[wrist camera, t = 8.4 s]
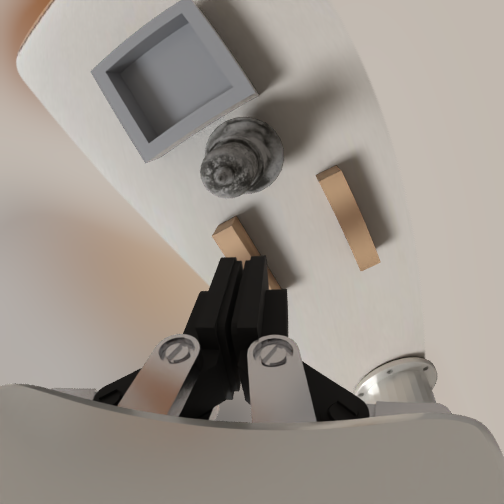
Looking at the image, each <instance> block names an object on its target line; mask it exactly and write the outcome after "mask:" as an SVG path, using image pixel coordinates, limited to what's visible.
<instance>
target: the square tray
mask: <svg viewBox="0 0 504 504" xmlns="http://www.w3.org/2000/svg"><path fill="white" fill-rule="evenodd" d="M91 73H92V75H93V77H94V78H95V80H96V82H97V84H98V85H99V87H100V89H101V91H102V92H103V94H104V96H105V97H106V99H107V101H108V103H109V104H110V106H111V108H112V109H113V111H114V113H115V114H116V116H117V118H118V119H119V121H120V123H121V124H122V126H123V128H124V129H125V131H126V133H127V134H128V136H129V138H130V139H131V141H132V142H133V144H134V146H135V147H136V149H137V150H138V152H139V154H140V155H141V157H142V159H143V160H144V162H145V163H148V162H150V161H153V160H155V159H158V158H160V157H162V156H163V155H164V154H166V153H167V152H169V151H170V150H172V149H173V148H174V147H176V146H177V145H179V144H180V143H182V142H183V141H185V140H186V139H188V138H189V137H191V136H192V135H194V134H195V133H197V132H198V131H200V130H202V129H203V128H205V127H206V126H208V125H209V124H211V123H213V122H214V121H216V120H218V119H219V118H221V117H222V116H224V115H226V114H227V113H229V112H231V111H233V110H234V109H236V108H238V107H239V106H241V105H243V104H245V103H246V102H248V101H250V100H252V99H254V98H255V97H257V96H259V94H258V93H257V91H256V89H255V88H254V86H253V85H252V83H251V82H250V80H249V79H248V77H247V75H246V74H245V72H244V71H243V69H242V68H241V66H240V65H239V63H238V62H237V60H236V59H235V57H234V56H233V54H232V53H231V51H230V50H229V49H228V47H227V46H226V44H225V43H224V41H223V40H222V39H221V37H220V36H219V34H218V33H217V32H216V30H215V29H214V27H213V26H212V25H211V23H210V22H209V21H208V19H207V18H206V16H205V15H204V14H203V12H202V11H201V10H200V9H199V7H198V6H197V5H196V4H195V3H194V2H193V1H192V0H181V1H179V2H177V3H176V4H174V5H173V6H171V7H170V8H168V9H167V10H165V11H164V12H162V13H161V14H159V15H158V16H157V17H155V18H154V19H152V20H151V21H150V22H148V23H147V24H146V25H144V26H143V27H142V28H140V29H139V30H138V31H136V32H135V33H134V34H133V35H131V36H130V37H129V38H128V39H126V40H125V41H124V42H123V43H122V44H120V45H119V46H118V47H117V48H116V49H115V50H113V51H112V52H111V53H110V54H109V55H108V56H107V57H106V58H104V59H103V60H102V61H101V62H100V63H99V64H98V65H97V66H96V67H95V68H94V69H93V70H92V71H91Z"/></svg>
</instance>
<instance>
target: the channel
mask: <svg viewBox="0 0 504 504" xmlns="http://www.w3.org/2000/svg"><path fill="white" fill-rule="evenodd" d="M316 177H317V179H318V181H319V183H320V185H321V187H322V189H323V191H324V193H325V195H326V197H327V199H328V201H329V203H330V205H331V207H332V209H333V211H334V213H335V215H336V217H337V219H338V221H339V224H340V226H341V228H342V230H343V232H344V234H345V237H346V239H347V241H348V243H349V245H350V248H351V250H352V252H353V254H354V257H355V259H356V261H357V264H358V266H359V268H360V271H363V270H365V269H367V268H369V267H372V266H374V265H376V264H378V263H380V259H379V257H378V254H377V251H376V249H375V246H374V244H373V241H372V239H371V236H370V234H369V231H368V229H367V226H366V224H365V222H364V219H363V217H362V215H361V212H360V210H359V208H358V205H357V203H356V201H355V199H354V196H353V194H352V192H351V190H350V188H349V186H348V183H347V181H346V179H345V177H344V175H343V173H342V171H341V170H340V169H339V168H338V167H337V166H334V167H332V168H330V169H327V170H325V171H323V172H321V173H319V174H317V175H316ZM212 237H213V239H214V240H215V242H216V243H217V245H218V246H219V248H220V249H221V251H222V252H223V254H224V255H225V257H236V258H237V261H242V264H243V269H244V265H245V261H246V260H250V258H251V256H261V255H260V254H259V252H258V250H257V249H256V247H255V245H254V244H253V242H252V241H251V239H250V237H249V236H248V234H247V233H246V231H245V229H244V228H243V226H242V224H241V223H240V221H239V220H238V218H237V216H235V217H233V218H232V219H230V220H228V221H226V222H224V223H222V224H220V225H219V226H218V227H217V228H216V230H215V232H214V234H213V235H212ZM267 272H268V283H269V290H271V289H281V288H280V286H279V284H278V283H277V281H276V279H275V278H274V276H273V275H272V273H271V271H270V270H269V268H268V266H267Z"/></svg>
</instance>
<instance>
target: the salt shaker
mask: <svg viewBox="0 0 504 504" xmlns="http://www.w3.org/2000/svg"><path fill="white" fill-rule="evenodd" d="M283 161H284V150H283V146H282V143H281V140H280V138H279V137H278V135H277V134H276V132H275V131H274V130H273V129H272V128H271V127H270V126H269V125H267V124H266V123H264V122H262V121H260V120H258V119H254V118H249V117H239V118H234V119H231V120H228V121H225V122H224V123H223V124H221V125H220V126H218V127H217V128H216V129H215V130H214V132H213V133H212V134H211V135H210V138H209V140H208V142H207V144H206V150H205V158H204V160H203V162H202V165H201V171H200V173H201V179H202V182H203V184H204V186H205V187H206V188H207V190H208V191H210V192H211V193H212V194H214V195H216V196H218V197H221V198H234V197H238V196H240V195H242V194H252V193H255V192H258V191H262V190H263V189H265V188H266V187H268V186H270V185H271V184H272V183H273V182H274V181H275V180H276V179H277V177H278V175H279V173H280V171H281V170H282V166H283Z"/></svg>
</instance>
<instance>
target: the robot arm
mask: <svg viewBox="0 0 504 504" xmlns="http://www.w3.org/2000/svg"><path fill="white" fill-rule="evenodd" d="M436 380H437V372H436V369H435V367H434V365H433V364H432V363H431V362H430V361H429V360H426V359H424V358H418V357H409V358H402V359H399V360H395V361H392V362H389V363H387V364H384V365H382V366H380V367H378V368H377V369H375V370H374V371H372V372H370V373H369V374H368V375H367V376H366V377H364V378H363V379H362V381H361V382H360V383H359V384H358V386H357V387H356V389H355V392H354V394H353V393H351V392H349V391H348V390H346V389H344V388H343V387H341V386H340V385H338V384H336V383H335V382H333V381H332V380H330V379H329V378H327V377H326V376H324V375H322V374H321V373H319V372H318V371H316V370H315V369H313V368H312V367H310V366H309V365H307V364H306V363H304V362H303V361H302V359H301V355H300V351H299V348H298V346H297V344H296V343H295V342H294V341H293V340H292V339H290V338H288V301H287V289H271V290H269V283H268V272H267V260H266V256H251V258H250V260H246V261H245V265H244V269H243V264H242V261H237V258H236V257H224V258H221V259H220V262H219V264H218V267H217V270H216V272H215V275H214V278H213V280H212V283H211V286H210V288H209V291H201V292H200V293H199V296H198V298H197V300H196V303H195V306H194V308H193V310H192V313H191V315H190V318H189V320H188V323H187V325H186V328H185V330H184V333H183V334H177V335H172V336H169V337H167V338H165V339H164V340H162V341H161V342H160V343H159V344H158V345H157V346H156V347H155V349H154V350H153V352H152V353H151V355H150V356H149V358H148V360H147V361H146V363H145V364H144V366H143V367H142V368H141V369H139V370H137V371H135V372H133V373H131V374H129V375H127V376H125V377H123V378H121V379H119V380H117V381H115V382H113V383H111V384H109V385H107V386H105V387H103V388H102V389H100V390H99V391H98V392H97V390H96V389H70V388H52V389H48V388H44V387H40V386H35V385H29V384H16V383H15V384H6V385H2V386H0V504H504V457H503V454H502V452H501V450H500V448H499V446H498V444H497V442H496V440H495V438H494V436H493V435H492V434H491V432H490V431H489V429H488V428H487V427H486V426H485V425H483V424H482V423H481V422H479V421H477V420H475V419H473V418H470V417H466V416H462V415H456V414H452V413H451V412H450V410H449V409H448V408H447V407H446V406H444V405H442V404H439V403H436V401H435V398H434V395H433V392H432V389H433V387H434V386H435V384H436ZM240 384H242V388H243V391H244V396H245V400H246V401H247V402H248V403H249V404H250V405H251V418H252V423H247V422H227V421H215V420H216V417H217V415H218V412H219V404H220V403H222V402H223V401H225V400H226V399H227V400H232V399H233V394H234V391H239V390H240Z"/></svg>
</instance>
